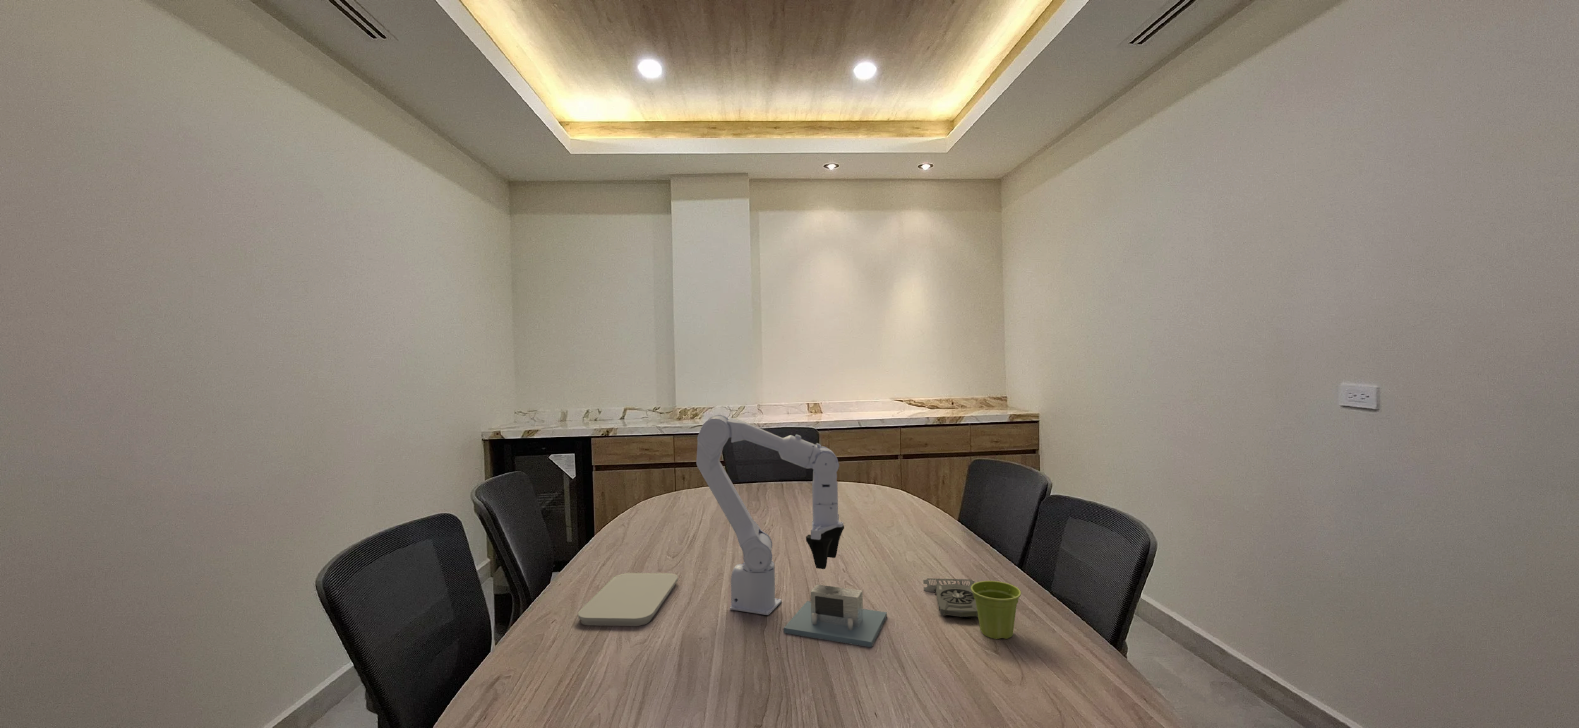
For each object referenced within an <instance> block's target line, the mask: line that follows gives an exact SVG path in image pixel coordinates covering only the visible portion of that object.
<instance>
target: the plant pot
mask: <svg viewBox="0 0 1579 728" xmlns="http://www.w3.org/2000/svg"><path fill="white" fill-rule="evenodd" d="M971 591H972V592H973V595H974V598H975V601H976V606H977V612H978V617H977V618H978V623H979V628H980V629H979V631H981V633H982V634H983V635H984V636H985V637H988V638H991V639H994V640H999V639H1005V640H1007V639H1010V638H1012V637H1013V635H1014V629H1015V620H1016V612H1017V606H1018V605H1017V604H1018V603H1019V598H1020V597H1022V591H1021V590H1020V589H1019V587H1017V586H1015V585H1013V584H1011V583H1007V582H1004V581H997V580H983V581H982V580H981V581H977V582H975V583H974V584H973V585H972V586H971Z"/></svg>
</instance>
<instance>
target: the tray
mask: <svg viewBox="0 0 1579 728" xmlns="http://www.w3.org/2000/svg"><path fill="white" fill-rule="evenodd" d="M887 616H888V612H887V611H881V610H880V611H879V610H874V609H866V608H863V620H862V622H861V624H860V625H859V627H858V628H857V627H853V619H852V618H848V626H844V625H838V624H831V623H825V622H818V621H817V614H816V613H812V620H811V600H810V601H809V600H807V601H805V603H804V604H803V605H802V606H801V607H800V608H799V610H798V611H797V612H796V613H795V614H794V615H793V616H792V617H791V619H790V620H789V621H788V623H786V625H785V626H784V627H783V633H784V634H787V635H788V634H789V635H796V636H802V637H808V638H813V639H820V640H823V641H824V640H825V641H830V642H838V643H845V644H850V645H857V646H862V647H868V648H872V647H873V646H874V643H875V642H876V639H877V638H878V635H879V634H880V631H881V629H882V628H883V626H884V623H885V621H886V619H887Z"/></svg>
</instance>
